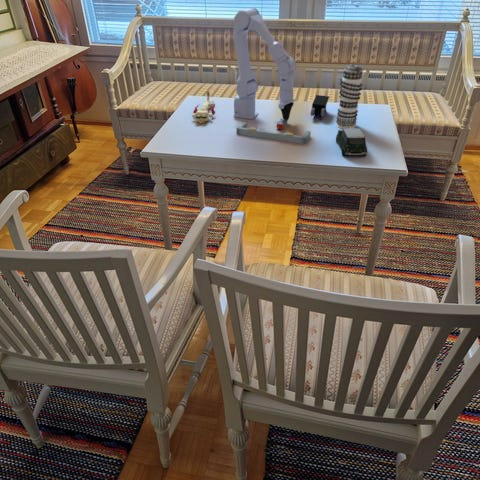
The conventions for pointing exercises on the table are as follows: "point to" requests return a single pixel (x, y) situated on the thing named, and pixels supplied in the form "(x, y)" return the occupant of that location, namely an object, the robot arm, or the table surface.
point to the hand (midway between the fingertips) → (285, 119)
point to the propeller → (280, 123)
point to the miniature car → (352, 141)
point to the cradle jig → (272, 134)
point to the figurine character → (319, 106)
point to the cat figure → (204, 110)
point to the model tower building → (349, 96)
